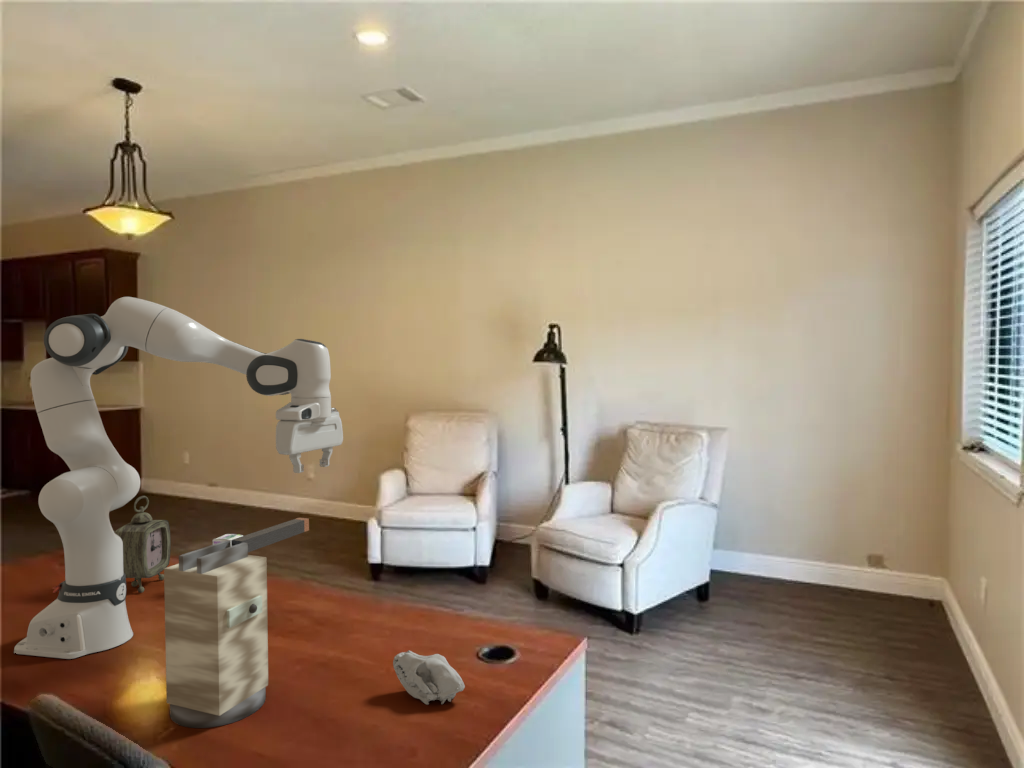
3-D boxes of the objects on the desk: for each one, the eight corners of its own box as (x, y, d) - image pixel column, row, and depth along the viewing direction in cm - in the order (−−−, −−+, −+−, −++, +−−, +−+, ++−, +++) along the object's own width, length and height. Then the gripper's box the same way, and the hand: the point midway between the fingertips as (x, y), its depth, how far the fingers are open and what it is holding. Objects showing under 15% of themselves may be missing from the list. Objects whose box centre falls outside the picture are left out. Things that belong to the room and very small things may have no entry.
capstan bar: (242, 554, 129) (241, 541, 129) (231, 553, 130) (231, 539, 130) (309, 530, 147) (308, 518, 147) (299, 529, 148) (299, 517, 148)
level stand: (219, 735, 115) (217, 565, 114) (148, 717, 121) (145, 555, 120) (284, 692, 130) (282, 541, 129) (218, 678, 136) (215, 533, 135)
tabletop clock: (143, 595, 184) (141, 501, 183) (109, 595, 184) (107, 501, 183) (171, 578, 198) (169, 491, 197) (139, 578, 198) (138, 491, 197)
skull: (455, 698, 122) (406, 641, 125) (424, 729, 125) (377, 673, 128) (476, 675, 130) (429, 621, 133) (447, 704, 133) (401, 651, 136)
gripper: (327, 406, 171) (328, 462, 171) (270, 412, 152) (270, 475, 152) (349, 407, 168) (349, 463, 169) (293, 413, 149) (294, 477, 150)
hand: (311, 469), depth 160 cm, fingers open, 8 cm apart
